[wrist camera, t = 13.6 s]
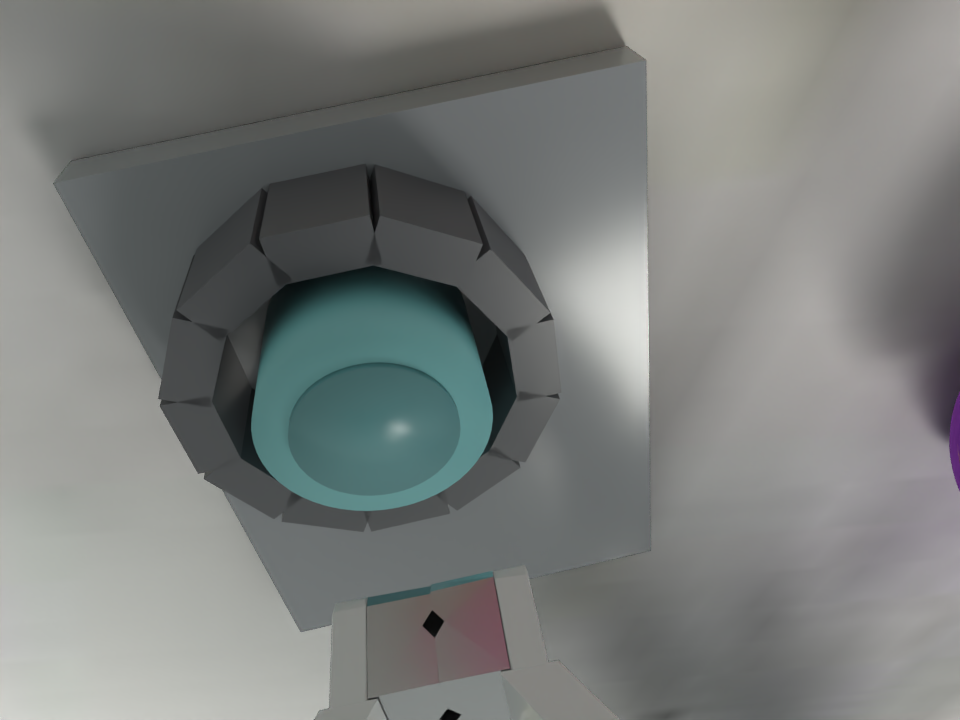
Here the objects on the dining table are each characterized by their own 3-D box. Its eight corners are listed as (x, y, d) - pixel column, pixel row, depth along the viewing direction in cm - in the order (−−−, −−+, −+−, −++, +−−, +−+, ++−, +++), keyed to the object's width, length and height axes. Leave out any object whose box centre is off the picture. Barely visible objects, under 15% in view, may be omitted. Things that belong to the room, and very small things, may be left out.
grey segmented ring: (548, 420, 20) (571, 486, 18) (256, 486, 20) (247, 559, 18) (511, 132, 15) (538, 179, 13) (119, 215, 15) (85, 275, 13)
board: (638, 523, 25) (650, 550, 24) (302, 601, 25) (300, 632, 24) (627, 45, 15) (646, 60, 14) (71, 160, 15) (53, 183, 14)
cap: (478, 388, 19) (505, 492, 16) (297, 423, 18) (290, 536, 16) (453, 224, 16) (480, 315, 13) (236, 263, 16) (214, 366, 13)
